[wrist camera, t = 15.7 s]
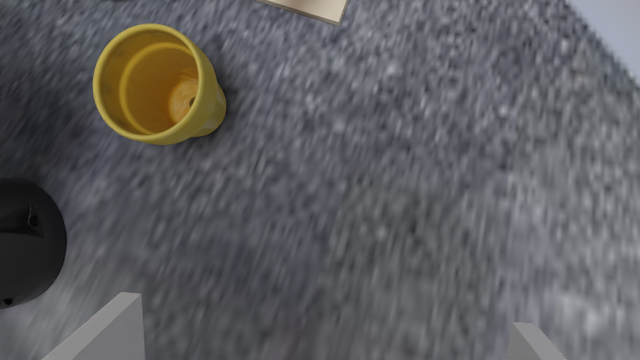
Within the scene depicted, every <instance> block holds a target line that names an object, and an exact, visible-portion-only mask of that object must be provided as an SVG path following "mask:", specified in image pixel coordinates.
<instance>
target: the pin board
mask: <svg viewBox="0 0 640 360" xmlns="http://www.w3.org/2000/svg"><path fill="white" fill-rule="evenodd" d="M256 1H259V2H262V3H266V4H269V5H272V6H275V7H279V8H282V9H285V10H288V11H291V12H295V13H298V14H301V15H304V16H308V17H311V18H314V19H317V20H321V21H324V22H327V23H330V24H334V25H337V26H340V24H341V21H342V18H343V15H344V13H345V10H346V7H347V4H348V2H349V0H256Z"/></svg>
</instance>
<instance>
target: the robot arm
mask: <svg viewBox="0 0 640 360" xmlns="http://www.w3.org/2000/svg"><path fill="white" fill-rule="evenodd" d="M65 242H66V241H65V230H64V225H63V221H62V218H61V215H60V213H59V211H58V209H57V207H56V205H55V204H54V202H53V201H52V200H51V198H50V197H49V196H48V195H47V194H46V193H45V192H44V191H43V190H42V189H40V188H39V187H37V186H36V185H34V184H32V183H30V182H28V181H25V180H21V179H14V178H0V309H5V308H9V307H13V306H16V305H19V304H22V303H25V302H27V301H30V300H32V299H34V298H36V297H38V296H39V295H41V294H42V293H43V292H44V291H45V290H46V289H47V288H48V287H49V286H50V285H51V284H52V282H53V281H54V280H55V278H56V276H57V275H58V273H59V270H60V268H61V265H62V262H63V259H64V254H65ZM42 360H145V348H144V331H143V315H142V298H141V294H140V293H126V292H120V293H119V294H118V295H117V296H116V297H114V298H113V299H112V300H111V301H110V302H108V303H107V304H106V305H105V306H104V307H103V308H101V309H100V310H99V311H98V312H97V313H96V314H94V315H93V316H92V317H91V318H90V319H89V320H87V321H86V322H85V323H84V324H83V325H81V326H80V327H79V328H78V329H77V330H76V331H74V332H73V333H72V334H71V335H70V336H69V337H67V338H66V339H65V340H64V341H63V342H62V343H60V344H59V345H58V346H57V347H56V348H55V349H53V350H52V351H51V352H50V353H49V354H47V355H46V356H45V357H44V358H43V359H42ZM506 360H566V358H565V357H564V356H563V355H562V354H561V353H560V352H559V350H558V349H557V348H556V347H555V346H554V345H553V344H552V342H551V341H550V340H549V339H548V338H547V337H546V335H545V334H544V333H543V332H542V331H541V330H540V329H539V327H538V326H537V325H536V324H533V323H520V322H512V327H511V333H510V339H509V344H508V350H507V356H506Z"/></svg>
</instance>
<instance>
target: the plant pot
mask: <svg viewBox="0 0 640 360" xmlns="http://www.w3.org/2000/svg"><path fill="white" fill-rule="evenodd" d="M93 95H94V100H95V103H96V106H97V109H98V111H99V113H100V115H101V116H102V118H103V119H104V121H105V122H106V123H107V124H108V125H109V126H110V127H111V128H112V129H113V130H114V131H116V132H117V133H119V134H120V135H122V136H124V137H126V138H129V139H132V140H136V141H140V142H144V143H150V144H158V145H169V144H175V143H179V142H182V141H184V140H186V139H188V138H190V137H199V136H205V135H207V134H210V133H211V132H213V131H214V130H215V129H217V128H218V127H219V125H220V124H221V123H222V121H223V119H224V117H225V113H226V98H225V95H224V93H223V91H222V89H221V88H220V86H219V84H218V83H217V79H216V75H215V71H214V69H213V66H212V64H211V62H210V61H209V59H208V58H207V56H206V55H205V54H204V53H203V52H202V50H201V49H200V48H198V47H197V46H196V45H195V44H194V43H193V42H192V41H191V40H190V39H188V38H187V37H186V36H185V35H183V34H182V33H180V32H179V31H177V30H175V29H173V28H171V27H169V26H165V25H161V24H141V25H137V26H134V27H131V28H128V29H126V30H124V31H123V32H121V33H120V34H118V35H117V36H116V37H115V38H114V39H112V40H111V41H110V43H109V44H108V45H107V46H106V47H105V49H104V50H103V52H102V53H101V55H100V57H99V59H98V61H97V64H96V67H95V71H94V76H93ZM193 101H194V102H193ZM192 103H193V104H192Z"/></svg>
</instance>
